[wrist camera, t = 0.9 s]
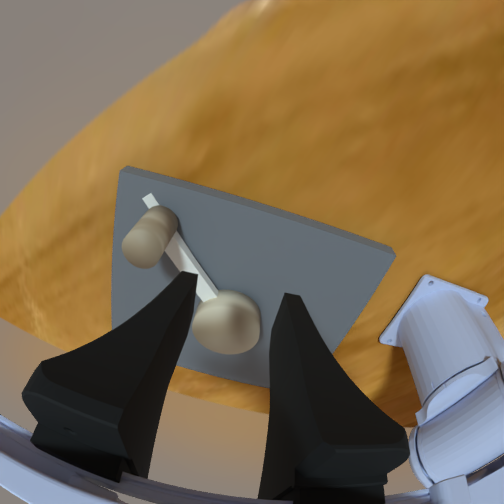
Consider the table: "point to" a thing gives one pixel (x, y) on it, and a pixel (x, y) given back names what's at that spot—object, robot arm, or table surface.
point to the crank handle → (212, 300)
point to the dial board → (245, 265)
